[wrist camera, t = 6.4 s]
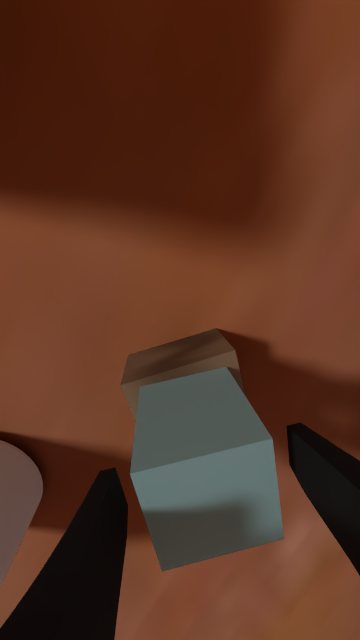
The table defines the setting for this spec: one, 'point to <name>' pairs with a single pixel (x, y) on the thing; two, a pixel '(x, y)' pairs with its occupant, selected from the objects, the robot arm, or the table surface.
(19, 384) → the table surface
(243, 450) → the teal block
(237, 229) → the table surface
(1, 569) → the beverage can
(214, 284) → the table surface
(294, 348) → the table surface
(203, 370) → the walnut base block
